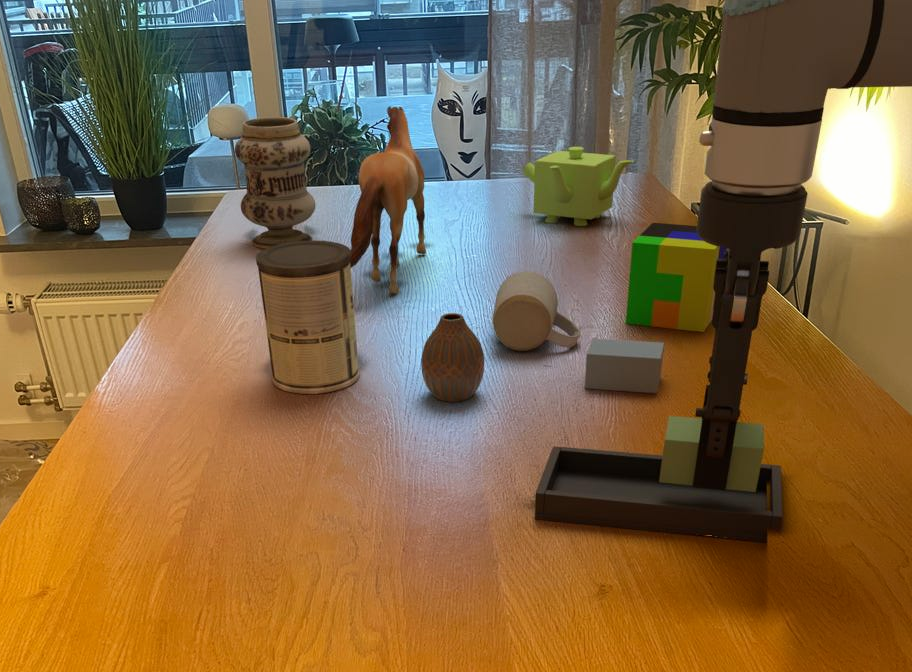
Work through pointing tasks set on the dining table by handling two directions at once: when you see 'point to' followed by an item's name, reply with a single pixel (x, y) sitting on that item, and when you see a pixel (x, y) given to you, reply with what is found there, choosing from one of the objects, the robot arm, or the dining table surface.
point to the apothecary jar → (275, 179)
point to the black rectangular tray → (651, 497)
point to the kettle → (574, 184)
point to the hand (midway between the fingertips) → (710, 471)
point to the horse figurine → (388, 196)
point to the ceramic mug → (530, 313)
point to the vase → (452, 360)
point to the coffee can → (309, 315)
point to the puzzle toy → (672, 278)
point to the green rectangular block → (685, 447)
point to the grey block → (624, 365)
